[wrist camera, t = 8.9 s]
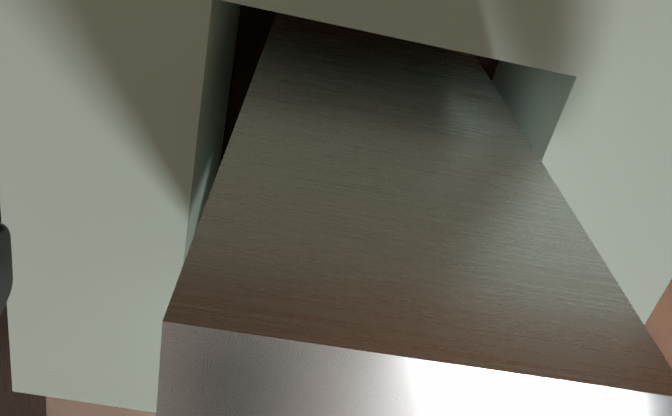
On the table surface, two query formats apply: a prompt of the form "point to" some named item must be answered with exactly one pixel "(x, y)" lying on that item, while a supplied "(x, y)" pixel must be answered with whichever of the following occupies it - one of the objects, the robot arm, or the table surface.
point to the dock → (207, 139)
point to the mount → (3, 404)
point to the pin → (393, 254)
